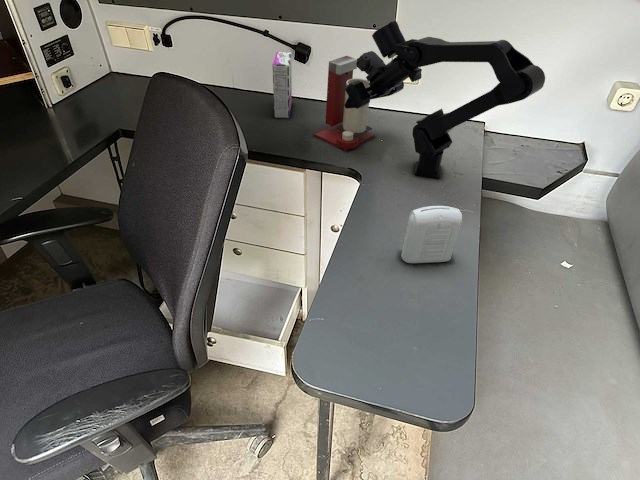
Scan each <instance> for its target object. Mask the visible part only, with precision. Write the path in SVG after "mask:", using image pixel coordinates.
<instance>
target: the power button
mask: <svg viewBox="0 0 640 480" xmlns="http://www.w3.org/2000/svg"><path fill="white" fill-rule="evenodd" d="M342 140H345V141H352V140H353V132H351V131H344V132H343V135H342Z"/></svg>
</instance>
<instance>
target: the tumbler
mask: <svg viewBox="0 0 640 480" xmlns="http://www.w3.org/2000/svg"><path fill="white" fill-rule="evenodd" d="M358 80H359V81H362V82H363V84H364V86H365V88H368V87H370V85H369V83H370V82H369V81H368V80H367V79H364V78H358V77H357V78H355V77H354V78H353V79H349V80H347V81H346V86H347V85H349V84H350V83H353V82H355V81H358ZM348 97H349V96H348V94H347V92H345V103H346V101H347V99H348ZM344 105H345V104H344ZM369 107H370V103H368V104H367V105H365V106H363V107H361V108H358V109H356V108H349V109H346V108H345V106H344V116H343V129H344V130H346V131H351V132H353V133H361V132H364V131H365V130H366V126H368V115H369V109H370V108H369Z"/></svg>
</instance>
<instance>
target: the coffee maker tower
mask: <svg viewBox="0 0 640 480" xmlns="http://www.w3.org/2000/svg"><path fill="white" fill-rule="evenodd" d="M356 63H357V58H355V57H352V56H349V55H344V56H341V57H338V58H335V59H332V60H329V61H328V67H327V69H328V71H327V87H326V88H327V90H326V103H325V104H326V105H325V106H326V107H325V109H326V110H325V125H328V126H329V127H331V126H332V127H333V126H335V125H337V124H339V123H341V122H343V116H344V104H345V92H346V90H345V87H346V81H347V80H349V79H354V78H353V77H354V70H357V69H358V67H357V66H356ZM336 128H337V129H339V130H341V131H346V130H344V129H343V124H342V125H340V126H338V127H336ZM372 130H373V127H371V126H368V125H367V126H366V130H365V131H364V132H361V133H353V136H355V137H357V136H359V135H361V134H363V133H365V132H367V133H368V132H369V131H372Z"/></svg>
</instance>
